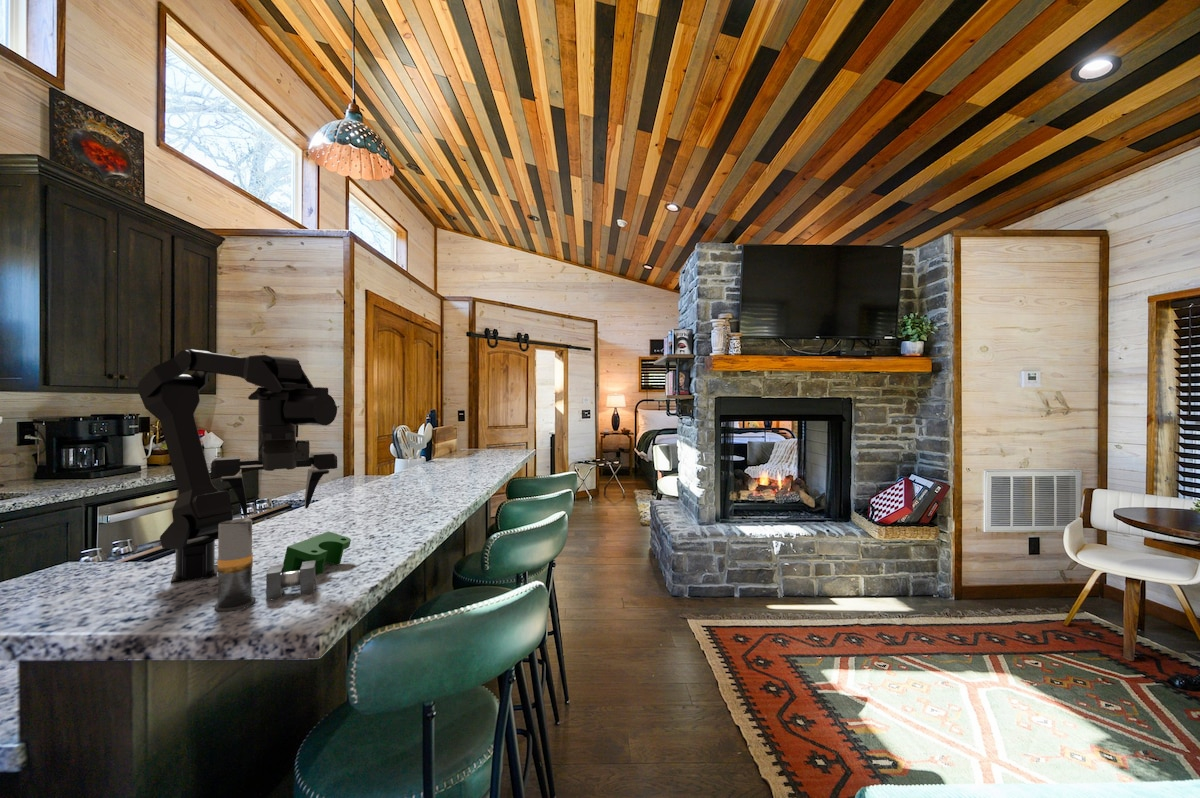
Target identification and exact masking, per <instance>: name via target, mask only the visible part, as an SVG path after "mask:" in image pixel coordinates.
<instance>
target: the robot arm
mask: <svg viewBox="0 0 1200 798" xmlns="http://www.w3.org/2000/svg"><path fill="white" fill-rule="evenodd" d="M189 371H190V372H193V373H192V374H191V375H190V374H186V373H187V372H189ZM210 374H216V375H223V376H224V375H225V376H231V377H235V378H236V377H237V378H241V379H243V380H244V381H246V382H247V383H249V384H252V385H255V386H257V389H256V390H255V391H253V392H252V393H250V394H249V395H248V397H247V398H248V400H250V401H258V404H257V405H258V408H257V409H258V410H257V412H258V416H257V417H258V419H257V422H258V424H257V425H258V427H257V429H258V431H257V438H258V439H257V459H248V460H246V459H245V460H241V456H230V457H229V456H227V457H216V458H214V459H213V460H212V461H211V463H210V471H209V467H208V464H207V460H206V456H205V453H204V449H203V445H202V441H201V438H200V434H199V429H198V427H197V423H196V420H195V419H196V418H195V412H196V410H197V409H198V406H199V403H200V402H201V399H200V398H201V397H200V392H201V391H202V390H203V389H204V388H205V387H206V386H207V385H208V384H209V377H210V376H209V375H210ZM137 391H138V393H139V396H140V398H141V399H140V400H141V401H142V403H143V406H144V408H145V410H147V412H149V413H151V415H153V416H154V417H155V418H156V419H157V420H159V422H160V426H161V430H162V433H163V437H164V441H165V444H166V449H167V453H168V456H169V461H170V465H171V468H172V471H173V475H174V479H175V482H176V487H177V491H178V496H177V498H176V500H175V503H174V504H173V507H172V508H171V514H172V522H171V523H170V525H168V527H167V528H166V529H165V530H164V531H163V533H161V535H160V536H159V541H160V544H161V547H162V549H167V550H168V549H170V550H171V549H172V550H175V571H173V574H172V577H171V580H170V583H171V584H175V583H181V582H188V581H193V580H198V579H199V580H200V579H204V578H205V579H206V578H212V577H216V576H218V572H217V564H215V560H216V557H215V555H216V552H215V550H216V548H215V546H216V541H217V540H218V524H219V523H221V522H225V521H230V520H234V514H233V511H235V508H234V506H232V502H231V496H230V493H229V492H228V490H222V491H220V490H218V489H217V487H215V486H214V485H213V483H212V479H211V478H220V482H222V483H223V482H227V483H229V485H230V486H231V489H232V490H233V491H234V493H235V495H236V498H237V501H238V504H239V505H240V509H241V511H242V513H243V515H244V516H248V504H247V499H246V498H247V497H246V492H245V485H244V480H243V479H244V478H243V473H242V472H246V471H247V472H248V471H260V470H261V471H262V470H263V471H266V472H270V471H271V472H272V471H273V472H274V471H275V470H295V469H297V468H305V467H309V468H307V474H306V484H305V494H304V508H305V509H309V506H310V504H311V501H312V498H313V496H314V493H315V490H316V488H317V486H318V484H319V481H321V479H322V477H323V476H324V475H328V474H329V473H330V470H334V469H338V457H337V455H336V454H335V453H334V452H331V451H322V452H320V451H319V452H310V440H309V439H301V440H300V439H299V440H298V439H297V426H323V427H324V426H329V425H331V424H332V423H333V422H334V421H335V419H336V417H337V413H338V405H336V404H337V403H336V401H335V398H333V397H332V395H330V394H329V387H324V386H323V387H321V386H320V387H317V386H316V387H314V385H313V384H312V382H311V380H310V379H309V378H308V376H307V375H306V373H305V371H304V370H303V368H302V365H301V363H300V360H299V359H297V358H295V357H288V356H280V355H279V356H278V355H270V354H258V355H257V354H256V355H249V356H246V357H245V356H236V355H235V356H234V355H229V354H222V353H214V352H210V351H208V350H200V349H199V350H198V349H193V348H191V349H189V348H187V349H183V350H180V351H179V352H178V353H176V355H175V356H173V357H172V358H171V359H168V360H166V361H164V362H162V363H159V364H157V365H155V366H154V367H152V368H151V369H150V370H149V371H148V372H147V373H146V374H145V375H144V376H143V377H142V378H141V379H140V380H139V382H138V385H137Z"/></svg>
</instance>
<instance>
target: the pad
mask: <svg viewBox="0 0 1200 798" xmlns="http://www.w3.org/2000/svg"><path fill="white" fill-rule="evenodd" d="M255 601H256V602H257V599H256V597H255V596H252V600H251V601H250V602H249V603H247V604H244V605H241V606H238V607H232V608H220V607H218V602H217V603H216V604H215V605H214V606H213V608H214V611H216V612H222V613H223V612H232V611H237V610H238V609H239V610H242V609H245V608H247V606H248V607H250V606H252V605H254V604H255V603H256V602H255ZM254 602H255V603H254ZM253 603H254V604H253ZM251 604H252V605H251ZM249 605H250V606H249ZM244 607H245V608H244ZM239 610H238V611H239Z"/></svg>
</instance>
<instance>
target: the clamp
mask: <svg viewBox="0 0 1200 798" xmlns="http://www.w3.org/2000/svg"><path fill="white" fill-rule="evenodd" d="M351 542H352V538H350V537H347V536H344V535H342V534H338V533H335V532H331V531H330V530H328V531H326V532H323V533H319V534H318V535H315V536H312V537H309V538H307V539H304V540H302V541H301V540H300V542H296V543H293V544H291V545H288V546H287V547H286V551H285V554H284V558H283V563H282V564H284V572H290V571H297V570H300V569H301V566H302V562H306V561H314V560H316V574H317V575H321V573H322V574H323V572H324V568H325V564H329V565H330V564H332V565H335V564H340V565H341V563H342V556H343V554H344V551H345V550H346V549H348V548H350V545H351Z"/></svg>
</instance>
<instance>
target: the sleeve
mask: <svg viewBox="0 0 1200 798" xmlns="http://www.w3.org/2000/svg"><path fill="white" fill-rule="evenodd" d="M217 541H218V542H217V544H218V547H217V548H218V549H217V551H218V553H217V563H216V565H217V603H218V607H220V608H232V607H238V606H241V605H244V604H247V603H249V602H250V601H251V600H252V597H253V566H254V561H253V560H254V559H253V558H254V557H253V556H254V554H253V519H250V518H239V519H233V520H230V521H225V522H221V523H219V524H218V539H217Z"/></svg>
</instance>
